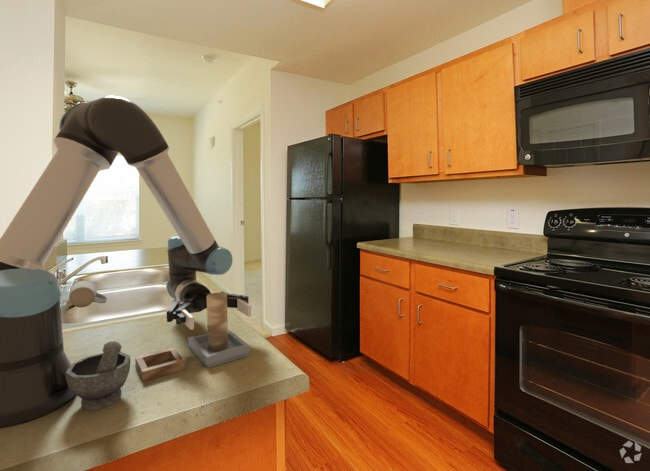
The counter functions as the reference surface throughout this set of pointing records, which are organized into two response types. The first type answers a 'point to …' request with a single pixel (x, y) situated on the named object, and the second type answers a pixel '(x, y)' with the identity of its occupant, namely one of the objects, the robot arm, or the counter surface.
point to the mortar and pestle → (99, 376)
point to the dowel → (217, 322)
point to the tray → (210, 359)
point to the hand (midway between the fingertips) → (222, 317)
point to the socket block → (161, 369)
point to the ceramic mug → (85, 294)
